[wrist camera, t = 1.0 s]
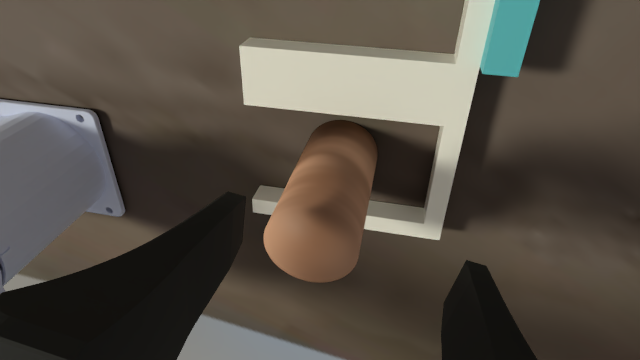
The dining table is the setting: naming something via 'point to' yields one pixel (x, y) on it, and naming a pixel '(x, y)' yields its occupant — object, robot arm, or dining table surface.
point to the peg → (324, 204)
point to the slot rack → (392, 94)
